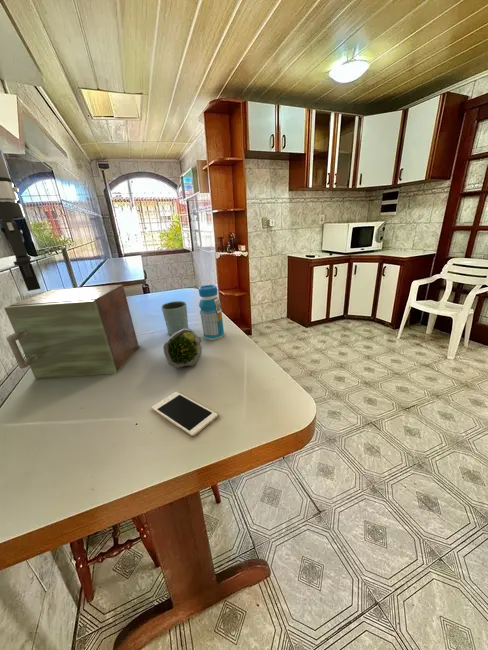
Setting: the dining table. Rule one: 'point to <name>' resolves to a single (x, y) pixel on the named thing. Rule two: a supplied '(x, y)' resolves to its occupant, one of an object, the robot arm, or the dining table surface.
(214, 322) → the beverage bottle
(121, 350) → the cupboard
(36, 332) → the cupboard door
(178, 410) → the cell phone
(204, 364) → the dining table surface
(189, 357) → the potted plant
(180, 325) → the grey green cup
